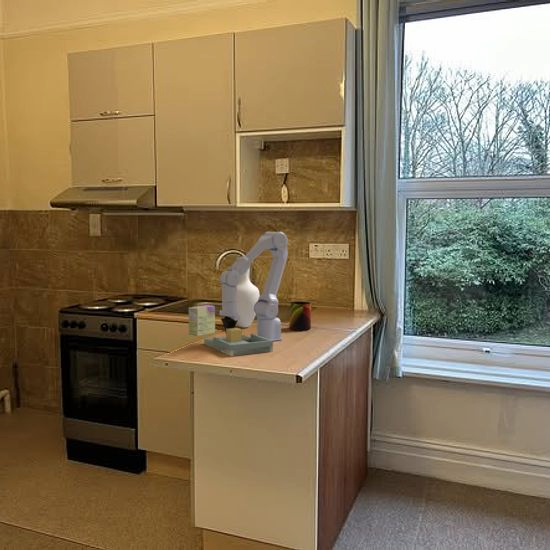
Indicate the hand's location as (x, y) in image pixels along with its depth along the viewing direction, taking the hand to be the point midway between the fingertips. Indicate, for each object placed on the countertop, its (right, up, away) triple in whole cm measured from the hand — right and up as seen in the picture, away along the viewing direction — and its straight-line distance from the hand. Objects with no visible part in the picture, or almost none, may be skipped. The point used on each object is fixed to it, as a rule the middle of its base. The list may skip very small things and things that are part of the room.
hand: (229, 336), depth 217 cm
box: (-13, -2, +21) cm, 25 cm away
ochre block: (+2, -1, -3) cm, 4 cm away
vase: (+4, 0, +37) cm, 38 cm away
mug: (+29, -1, +35) cm, 45 cm away
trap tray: (+4, -4, -6) cm, 8 cm away
